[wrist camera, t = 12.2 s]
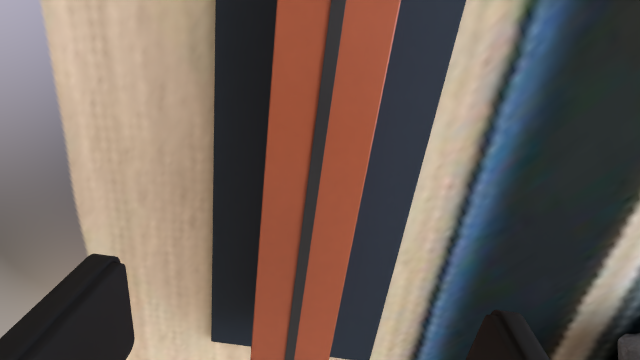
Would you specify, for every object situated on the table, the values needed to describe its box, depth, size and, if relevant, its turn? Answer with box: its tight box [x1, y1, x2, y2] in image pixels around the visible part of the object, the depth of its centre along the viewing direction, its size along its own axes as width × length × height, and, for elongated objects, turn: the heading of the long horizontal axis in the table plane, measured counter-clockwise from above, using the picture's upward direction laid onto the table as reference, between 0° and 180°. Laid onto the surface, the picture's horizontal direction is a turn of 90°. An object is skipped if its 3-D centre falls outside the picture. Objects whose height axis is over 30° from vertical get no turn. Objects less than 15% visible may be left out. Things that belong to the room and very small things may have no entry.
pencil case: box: [250, 0, 401, 360], centre depth 17 cm, size 19×4×4 cm, turn 172°
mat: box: [211, 0, 466, 360], centre depth 19 cm, size 26×11×1 cm, turn 172°
